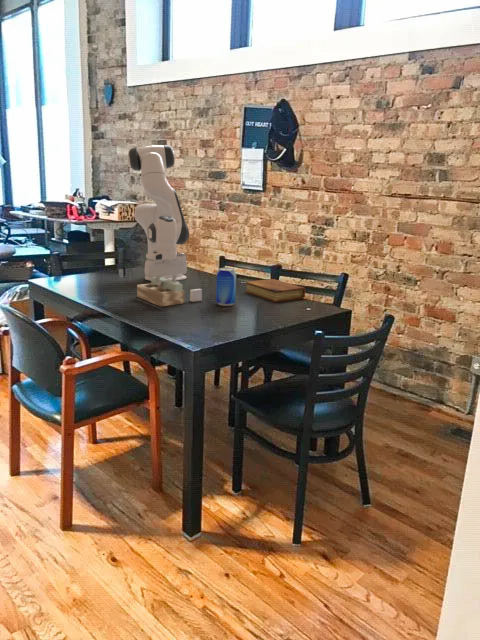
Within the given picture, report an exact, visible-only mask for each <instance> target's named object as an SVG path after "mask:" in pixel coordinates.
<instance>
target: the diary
mask: <svg viewBox="0 0 480 640" xmlns="http://www.w3.org/2000/svg"><path fill="white" fill-rule="evenodd" d="M245 284H246V290H245V291H244V293H246V294H250V295H253V296H255V297H260V298H263V299H265V300H268V301H271V302H274V303H276V302H284V301H291V300H298V299H299V300H300V299H305V298H306V287H305V286H300V285H296V284H293V283H290V282H285V281H282V280H278V279H274V278H268V279H261V280H260V279H259V280H249V281H245Z"/></svg>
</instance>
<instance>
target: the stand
mask: <svg viewBox="0 0 480 640" xmlns="http://www.w3.org/2000/svg"><path fill="white" fill-rule="evenodd" d="M176 282H177V283H180V284H181V282H180V281H176ZM189 292H190V293H189V301H190V302H193V303H194V302H200V301H203V289H201V288H195V289H190V291H189Z"/></svg>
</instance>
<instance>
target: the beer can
mask: <svg viewBox="0 0 480 640" xmlns="http://www.w3.org/2000/svg"><path fill="white" fill-rule="evenodd" d="M236 290H237V273H236V272H235V268H232V267H220V268H219V269H218V270H217V274H216V290H215V291H216V292H215V303H216V304H217V305H219V306H225V307H228V306H229V307H230V306H233V305H235V303H236V292H237V291H236Z"/></svg>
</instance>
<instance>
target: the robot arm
mask: <svg viewBox="0 0 480 640" xmlns="http://www.w3.org/2000/svg"><path fill="white" fill-rule="evenodd" d="M175 152H176V151H175V149H174V148H173V147H172V146H171V145H169V144H163V145H162V144H152V145H146V146H139V147H136V146H135V147H133V148H130V149H129V151H128V155H127V162H128V164H129V167H130V168H131V169H132V170H133V171H137V172H141V175H140V176H141V182H142V187H143V190H144V193H145V195H146V196H147V198H148V199H150V200H151V201H152V202H154V203H143V204H138V205H137V206H136V207H135V209H134V219H135V221H136V222H137V223H138V224H139V225H140V226H141V227H142V229H143V230H144V233H145V235H146V238H147V239H146V240H147V252H146V255H145V258H146V260H145V263H144V275H145V276H144V280H146V281H150V282H151V277H155V278H156V280H157V282H158V286H162V285H163V282H161V281H160V278H161V277H162V278H165V279H168V280H171V281H174V282H178V281H182V280H187V276H186V275H184V274H186V273H187V272H188V264H187V255H186V254H185V253H184V252H180V253H179V252H177V251H178V248H177V246H178V245H183V244H185V243H186V242H187V241H188V240H189V238H190V229H189V227H188V225H187V223H186V220H185V216H184V212H183V210H182V209H183V208H182V207H181V204H180V199H179V197H178V194H177V192H176V190H175V188H173V187H172V186H171V185H170V183H169V181H168V178H167V173H166V169H170V168H172V167H174V165H175V162H176V158H177V156H176V153H175Z"/></svg>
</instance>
